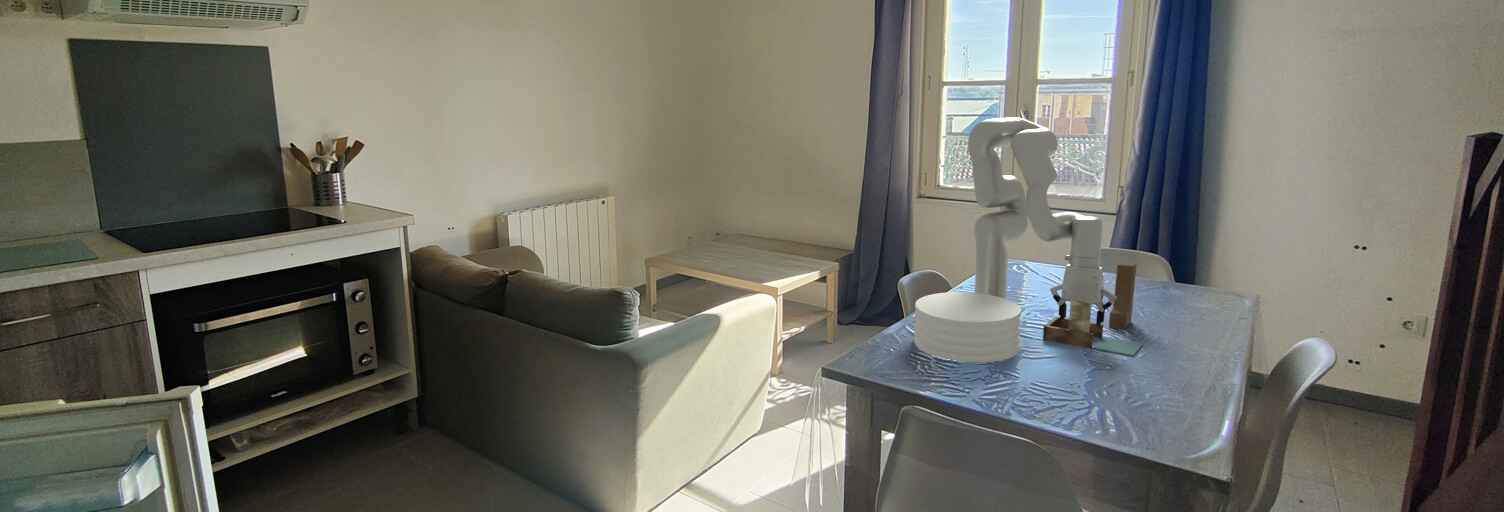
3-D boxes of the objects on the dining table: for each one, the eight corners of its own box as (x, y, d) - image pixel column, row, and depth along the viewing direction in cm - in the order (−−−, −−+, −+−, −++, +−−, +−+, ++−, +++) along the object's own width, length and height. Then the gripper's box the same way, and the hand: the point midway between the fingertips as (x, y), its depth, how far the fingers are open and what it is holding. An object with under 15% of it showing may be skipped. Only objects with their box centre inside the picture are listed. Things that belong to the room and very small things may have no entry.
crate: (1042, 339, 219) (1043, 326, 218) (1055, 329, 228) (1056, 316, 227) (1091, 348, 212) (1092, 334, 211) (1102, 337, 220) (1103, 324, 219)
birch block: (1067, 341, 218) (1070, 300, 215) (1073, 335, 222) (1077, 295, 220) (1082, 344, 215) (1085, 302, 213) (1088, 338, 220) (1092, 297, 217)
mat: (1093, 349, 211) (1093, 347, 211) (1104, 338, 220) (1104, 336, 220) (1133, 356, 205) (1133, 355, 205) (1142, 344, 214) (1142, 343, 214)
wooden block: (1124, 329, 226) (1130, 269, 222) (1108, 327, 229) (1113, 267, 225) (1131, 321, 233) (1136, 263, 229) (1115, 319, 236) (1120, 261, 232)
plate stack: (1019, 334, 225) (1021, 296, 222) (1017, 368, 199) (1020, 325, 196) (920, 325, 234) (922, 289, 231) (907, 357, 208) (908, 316, 205)
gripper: (1048, 260, 216) (1044, 319, 220) (1115, 267, 205) (1110, 330, 209) (1056, 255, 222) (1053, 313, 225) (1122, 262, 211) (1117, 323, 215)
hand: (1080, 321), depth 217 cm, fingers open, 9 cm apart
